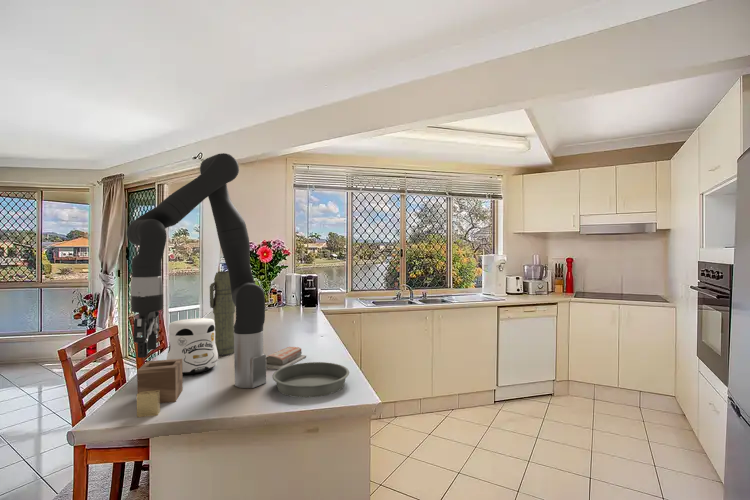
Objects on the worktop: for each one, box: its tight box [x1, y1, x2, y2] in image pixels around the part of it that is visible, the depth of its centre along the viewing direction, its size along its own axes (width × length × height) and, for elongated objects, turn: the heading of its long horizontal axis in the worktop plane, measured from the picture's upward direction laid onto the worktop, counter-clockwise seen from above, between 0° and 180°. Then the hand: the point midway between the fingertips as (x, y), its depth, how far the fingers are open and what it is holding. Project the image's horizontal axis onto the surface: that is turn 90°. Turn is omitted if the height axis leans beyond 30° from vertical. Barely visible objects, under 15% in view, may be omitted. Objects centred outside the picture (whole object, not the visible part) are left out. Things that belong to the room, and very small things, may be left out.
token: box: [136, 390, 161, 418], centre depth 111 cm, size 2×5×6 cm, turn 104°
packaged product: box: [266, 346, 307, 370], centre depth 160 cm, size 18×5×10 cm
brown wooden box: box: [136, 359, 184, 404], centre depth 123 cm, size 10×10×10 cm
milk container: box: [165, 317, 219, 375], centre depth 151 cm, size 17×17×18 cm
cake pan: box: [271, 361, 350, 398], centre depth 133 cm, size 25×25×4 cm
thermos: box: [209, 270, 236, 357], centre depth 175 cm, size 9×12×35 cm
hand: (147, 353), depth 111 cm, fingers open, 8 cm apart
